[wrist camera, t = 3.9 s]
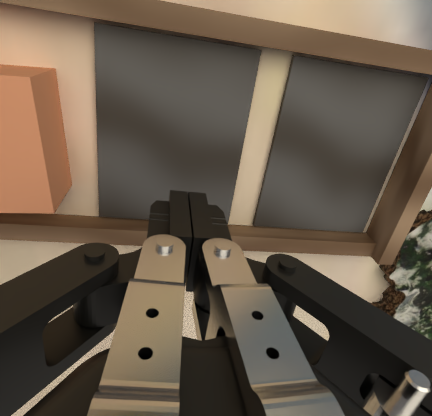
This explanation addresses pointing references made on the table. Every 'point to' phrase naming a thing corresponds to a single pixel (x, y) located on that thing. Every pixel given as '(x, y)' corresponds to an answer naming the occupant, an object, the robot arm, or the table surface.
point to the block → (31, 141)
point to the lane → (236, 128)
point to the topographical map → (411, 279)
